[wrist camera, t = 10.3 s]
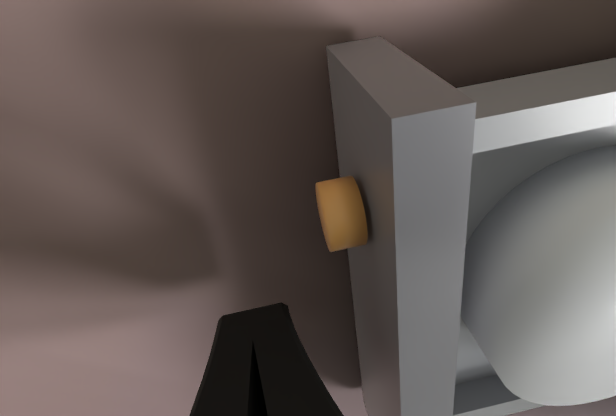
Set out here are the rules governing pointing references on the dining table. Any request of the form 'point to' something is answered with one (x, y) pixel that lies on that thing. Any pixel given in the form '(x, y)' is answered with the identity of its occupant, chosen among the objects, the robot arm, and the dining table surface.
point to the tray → (437, 207)
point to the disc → (549, 282)
